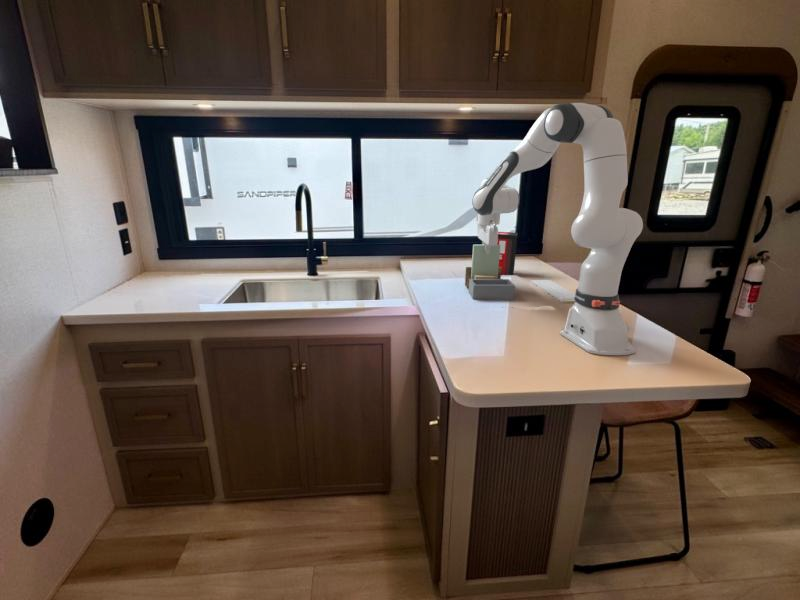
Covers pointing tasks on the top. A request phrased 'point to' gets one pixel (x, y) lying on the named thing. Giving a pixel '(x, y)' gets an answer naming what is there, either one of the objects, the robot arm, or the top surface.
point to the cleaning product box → (507, 251)
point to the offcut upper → (484, 277)
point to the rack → (468, 275)
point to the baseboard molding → (555, 291)
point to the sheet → (485, 261)
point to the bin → (491, 289)
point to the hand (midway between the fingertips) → (486, 253)
